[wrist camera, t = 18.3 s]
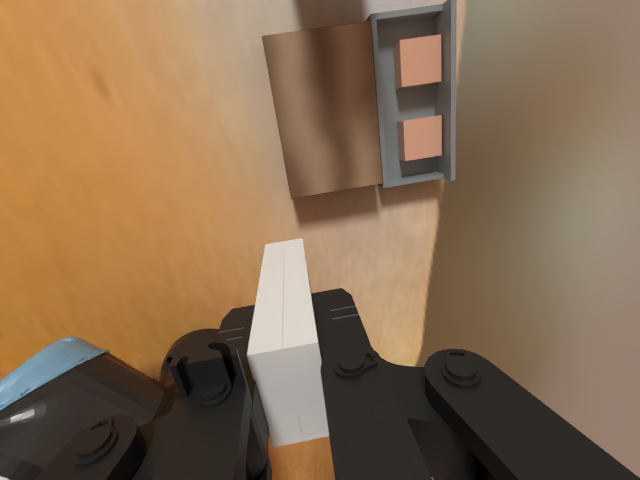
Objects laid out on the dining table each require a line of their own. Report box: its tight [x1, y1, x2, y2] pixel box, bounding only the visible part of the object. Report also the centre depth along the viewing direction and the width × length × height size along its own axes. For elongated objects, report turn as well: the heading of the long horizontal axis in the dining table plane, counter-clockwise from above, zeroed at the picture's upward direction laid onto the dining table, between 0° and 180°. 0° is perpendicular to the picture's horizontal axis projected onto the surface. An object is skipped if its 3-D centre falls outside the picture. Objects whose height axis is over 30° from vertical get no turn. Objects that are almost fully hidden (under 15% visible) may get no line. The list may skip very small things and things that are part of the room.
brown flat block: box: [262, 21, 383, 198], centre depth 39 cm, size 12×18×4 cm, turn 9°
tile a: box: [397, 115, 442, 161], centre depth 42 cm, size 5×5×2 cm
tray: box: [365, 0, 456, 188], centre depth 40 cm, size 9×20×5 cm, turn 9°
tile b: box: [393, 34, 441, 89], centre depth 39 cm, size 5×5×2 cm
